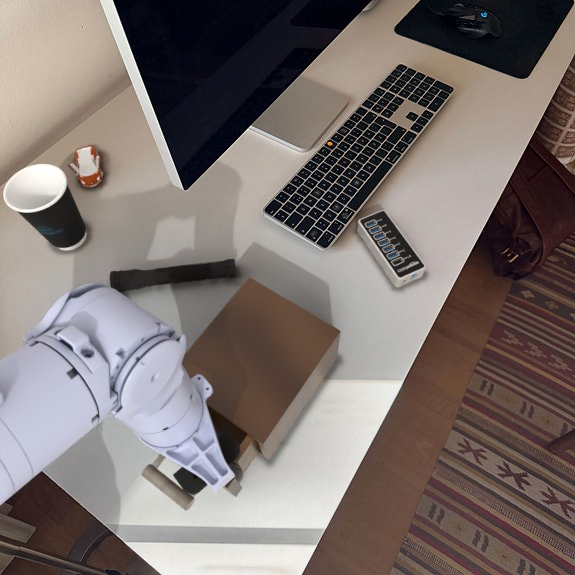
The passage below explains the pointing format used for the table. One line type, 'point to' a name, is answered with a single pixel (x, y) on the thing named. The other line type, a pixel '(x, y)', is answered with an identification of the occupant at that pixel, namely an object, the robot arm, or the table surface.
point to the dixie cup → (47, 204)
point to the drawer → (243, 461)
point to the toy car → (87, 166)
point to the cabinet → (263, 362)
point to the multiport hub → (390, 248)
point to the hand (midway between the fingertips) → (190, 437)
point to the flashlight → (171, 275)
